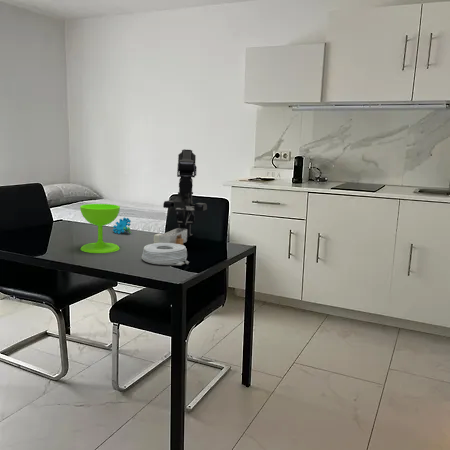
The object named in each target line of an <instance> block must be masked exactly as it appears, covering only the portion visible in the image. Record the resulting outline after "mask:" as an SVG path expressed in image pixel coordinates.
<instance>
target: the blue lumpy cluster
mask: <svg viewBox="0 0 450 450" xmlns="http://www.w3.org/2000/svg"><path fill="white" fill-rule="evenodd" d="M118 221H119V222H118ZM118 221H115V224H116V225H115V224H114V225H113V226H112V227H113V229H112V232H114V234H115V233H116V234H117V235H120V234H121V233H122V234H123V233H125V232H126V233H129V234H130V233H132V232H131V228H130V226H131V222H132V221H131V219H130V218H129V217H123V218H120V219H119V220H118Z"/></svg>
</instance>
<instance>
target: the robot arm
mask: <svg viewBox="0 0 450 450" xmlns="http://www.w3.org/2000/svg"><path fill="white" fill-rule="evenodd" d="M177 157H178V158H177V159H178V160H177V171H176V172H177V173H176V174H177V175H176V176H177V178H179V181H178V188H179V189H178V192H177V196H176V197H175V198H174V199H173V200H165V201H164V202H163V204H162V205H163V208H165V209H170V208H171V207H174V209H175V211H176V223H175V224H176V225H178V228H182V229H187V238H189V237H192V236H193V233H191V228H192V227H191V225H195V224H196V222H195V221H196V215H195V211H197V212H204V211H207V210H208V205H207V203H205V202H204V203H203V202H197V203H195V204H194V202H193V195H194V192H193V186H194V185H193V178H196V176H197V166H196V158H197V157H196V154H195V153H193V150H192V149H181V152H180V153H179V154H178V155H177Z"/></svg>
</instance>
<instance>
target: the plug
mask: <svg viewBox="0 0 450 450" xmlns="http://www.w3.org/2000/svg"><path fill="white" fill-rule="evenodd" d="M162 234H163V233H156V234H153V243H159V235H162ZM176 244H181V245H184V243H183V239H182V238H177V241H176Z"/></svg>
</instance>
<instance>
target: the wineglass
mask: <svg viewBox="0 0 450 450" xmlns="http://www.w3.org/2000/svg"><path fill="white" fill-rule="evenodd" d="M120 208H121V206H120V205H116V204H110V203H109V204H107V203H89V204H82V205H80V206H79V209H80V213H81V215H82V217H83V218H84V220H86V222H88V223H89V224H91V225H94V226H97V241H96V242H90V243H85V244H84V245H82V246H81V248H80V251H82V252H83V253H84V252H85V253H90V254H108V253H114V252H117V251H119V250H121V249H120V247H119V245H117V244H116V243H112V242H105V241H104V240H103V239H104V238H103V237H104V234H103V230H104V228H103V226H106V225H110V224H111V223H112V222H114V221H115V220H116V218H117V217H118V215H119V213H120V210H121V209H120Z"/></svg>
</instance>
